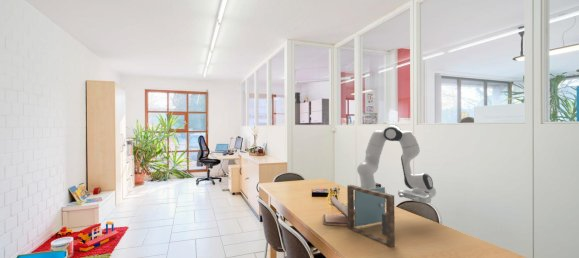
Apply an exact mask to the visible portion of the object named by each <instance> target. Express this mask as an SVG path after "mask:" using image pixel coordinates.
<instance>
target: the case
mask: <svg viewBox="0 0 579 258" xmlns="http://www.w3.org/2000/svg"><path fill="white" fill-rule="evenodd" d="M330 202H331V205H332V206H333V207H334V208H336V209H337V210H338V211H339V212H340V213H324V214H323V219H322V220H323V222H322V224H323V225H324V226H339V227H340V226H342V227H348V207H346V206H345V205H344V204H343V203H342V202H341V201H340V200H338V199H337V198H336V197H335V196H334V195H330ZM354 223H355V220H354Z"/></svg>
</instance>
